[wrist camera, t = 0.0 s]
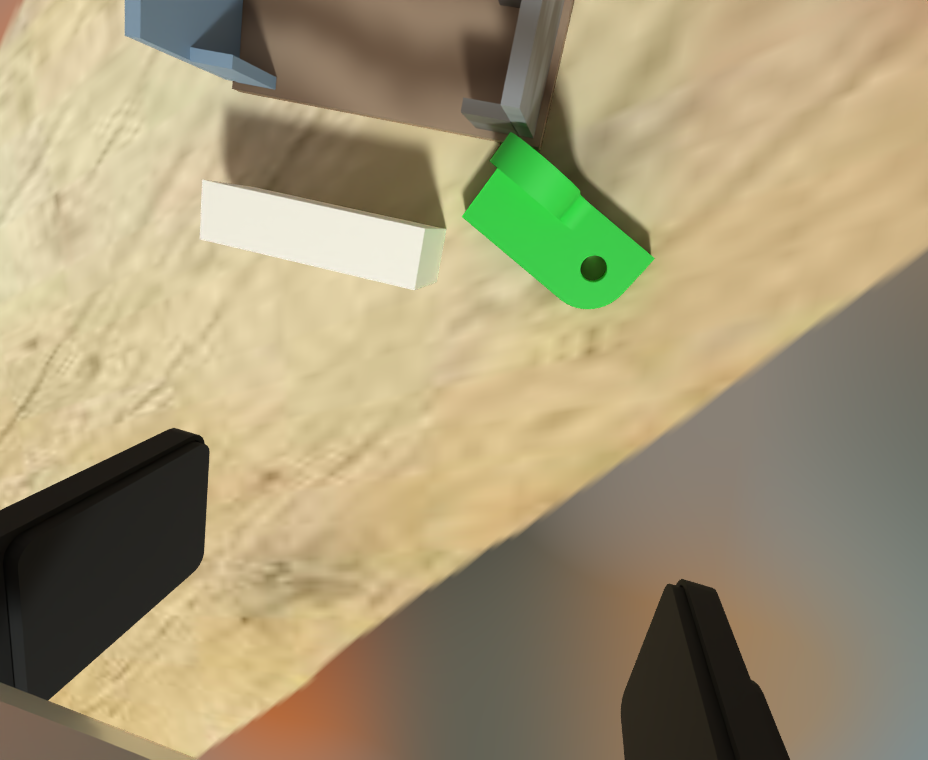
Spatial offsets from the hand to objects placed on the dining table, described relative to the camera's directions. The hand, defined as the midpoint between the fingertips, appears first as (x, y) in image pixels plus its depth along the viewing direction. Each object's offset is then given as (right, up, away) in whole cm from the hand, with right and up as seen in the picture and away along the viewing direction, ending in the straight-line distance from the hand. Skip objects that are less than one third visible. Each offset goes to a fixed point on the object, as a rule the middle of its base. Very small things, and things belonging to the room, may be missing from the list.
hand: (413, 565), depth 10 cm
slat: (-8, +15, +30) cm, 35 cm away
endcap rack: (-4, +27, +26) cm, 37 cm away
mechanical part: (+8, +14, +27) cm, 32 cm away
